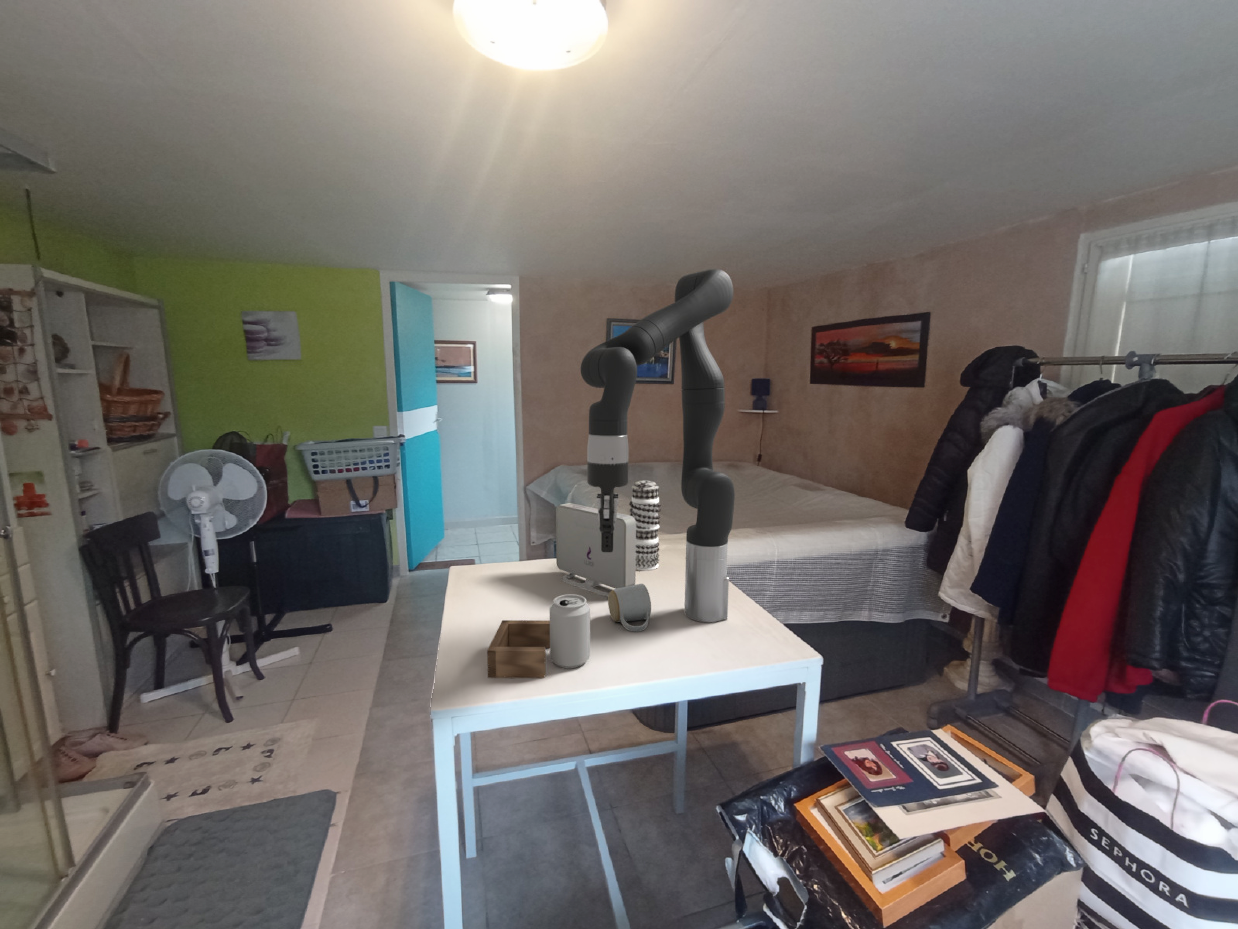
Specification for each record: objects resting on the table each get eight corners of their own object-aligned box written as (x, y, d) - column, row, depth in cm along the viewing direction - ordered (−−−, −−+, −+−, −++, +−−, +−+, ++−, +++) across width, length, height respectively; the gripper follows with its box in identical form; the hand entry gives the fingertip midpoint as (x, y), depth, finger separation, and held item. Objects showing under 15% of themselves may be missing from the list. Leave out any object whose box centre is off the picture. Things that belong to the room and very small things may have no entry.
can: (551, 651, 102) (550, 592, 101) (589, 650, 103) (589, 591, 101) (548, 671, 95) (548, 608, 93) (590, 670, 95) (590, 607, 94)
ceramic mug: (606, 614, 119) (606, 582, 118) (639, 610, 122) (640, 578, 121) (621, 635, 109) (622, 601, 108) (657, 630, 112) (658, 596, 111)
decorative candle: (634, 572, 148) (635, 485, 144) (624, 562, 157) (625, 479, 153) (664, 569, 150) (666, 483, 147) (653, 559, 159) (655, 478, 156)
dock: (552, 644, 105) (552, 620, 104) (544, 677, 93) (544, 651, 92) (502, 644, 105) (502, 620, 104) (487, 677, 92) (487, 650, 92)
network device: (550, 576, 144) (549, 505, 141) (573, 569, 150) (573, 500, 148) (619, 601, 127) (619, 521, 124) (642, 592, 133) (643, 515, 131)
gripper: (628, 464, 89) (627, 562, 91) (628, 455, 102) (627, 541, 104) (584, 463, 89) (584, 562, 91) (589, 454, 102) (589, 541, 105)
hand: (607, 551), depth 98 cm, fingers closed
